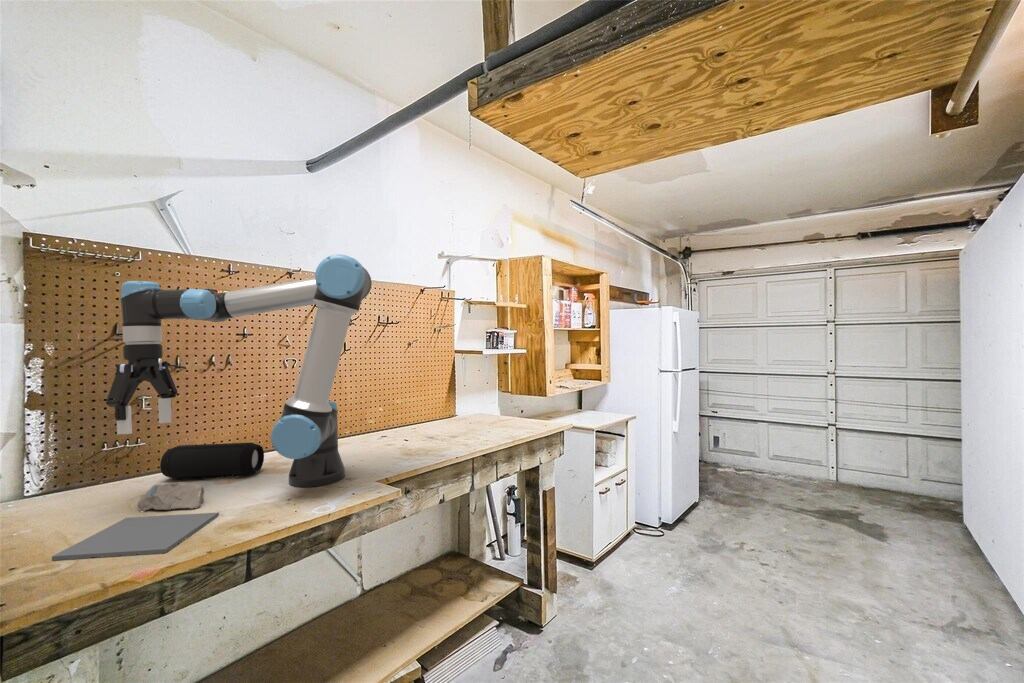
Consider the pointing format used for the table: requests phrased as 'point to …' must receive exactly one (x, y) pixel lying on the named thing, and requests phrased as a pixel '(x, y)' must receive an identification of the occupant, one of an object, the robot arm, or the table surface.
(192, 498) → the concrete fragment
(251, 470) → the portable speaker
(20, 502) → the table surface
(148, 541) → the rubber mat
